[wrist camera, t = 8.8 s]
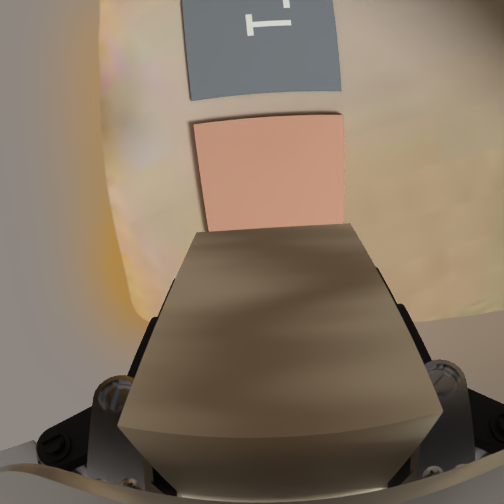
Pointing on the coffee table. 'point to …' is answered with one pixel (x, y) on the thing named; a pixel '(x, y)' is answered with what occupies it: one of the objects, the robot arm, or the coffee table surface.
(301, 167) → the pad
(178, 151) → the coffee table surface
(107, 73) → the coffee table surface
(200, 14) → the gray tile
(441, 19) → the coffee table surface
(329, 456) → the maple block
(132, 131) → the coffee table surface
